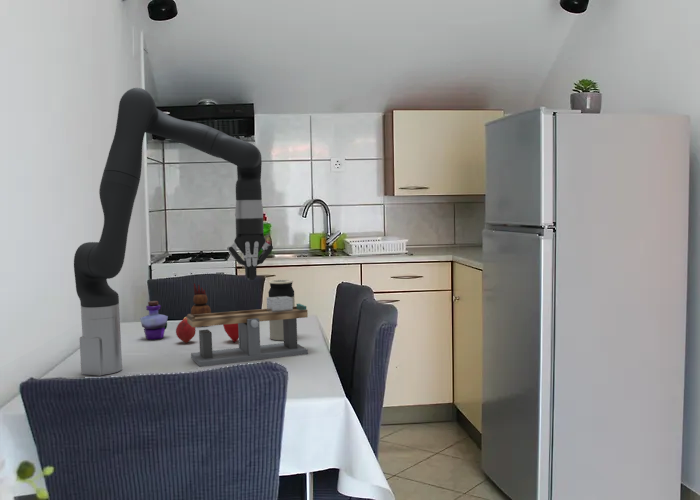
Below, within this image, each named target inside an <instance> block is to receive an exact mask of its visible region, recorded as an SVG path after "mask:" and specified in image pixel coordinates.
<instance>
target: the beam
mask: <svg viewBox="0 0 700 500" xmlns="http://www.w3.org/2000/svg"><path fill="white" fill-rule="evenodd" d="M231 311H232V310H231ZM231 311H221V312H211V313H207V314H194V315H191V313H188V314H187V315H186V317H187V323H188V324H189V325H191V326H192V327H195V328H199V327H201V328H202V326H203V327H211V326H212V327H214V326H222V325H225V324H237V323H247V319H254V318H258V319H259V323H260V322H269V321H271V320H283V319H294V318H297V319H301V318H302V319H303V318H308V316H309V315H308V309H307V306H306V305H304V304H301V303H296V306H295V307H293V311H282V312H270V313H269V312H267V308H261V309H259V308H258V309H249V310H237V311H235V310H233V311H232V312H231Z"/></svg>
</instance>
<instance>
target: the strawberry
mask: <svg viewBox="0 0 700 500" xmlns="http://www.w3.org/2000/svg"><path fill="white" fill-rule="evenodd" d="M230 312H232V310H230ZM223 329H224V331H225V333H226V334H227V336H228V338H230V339H231V341H232V342H233V343H236V342H237V341H239V334H238V323H237V324H225V325H223Z"/></svg>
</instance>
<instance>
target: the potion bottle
mask: <svg viewBox="0 0 700 500" xmlns="http://www.w3.org/2000/svg"><path fill="white" fill-rule="evenodd" d="M161 308H162V305H161V304H159V301H158V300H152V301H147V305H146V307H145V309H146V311H148V315H145V316H142V317H140V318H139V320H140V323H141V327H142V328H143V332H144V336H145V339H148V340H147V341H158V340H163V339H164V338H165V337H164V335H165V331H166V329H167V328H168V319H169V318H168V317H169V316H168V315H165V314H160V313H159V310H162V309H161Z"/></svg>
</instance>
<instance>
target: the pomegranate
mask: <svg viewBox="0 0 700 500" xmlns="http://www.w3.org/2000/svg"><path fill="white" fill-rule="evenodd" d="M175 335H176V337H177V338H178V339H179V340H180V341H181V342H183V343H185V344H188V343H189V342H191V340H192V339H193V338H194V337H195V335H196V327H192V326H191V325H189V324H188V323H187V316H185V317H184V318H183V319H182V320H181V321H180V322H179V323H178V324H177V325H176V329H175Z"/></svg>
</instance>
